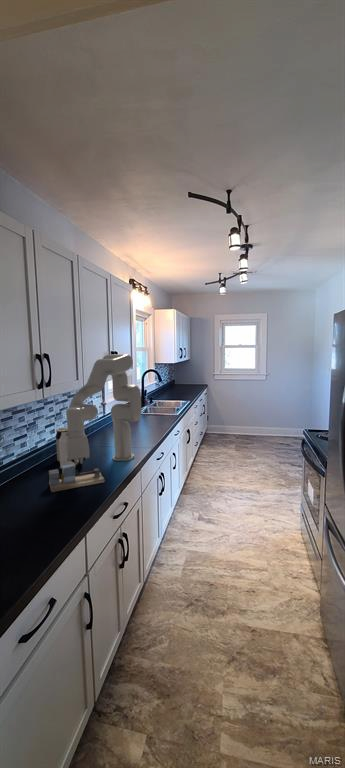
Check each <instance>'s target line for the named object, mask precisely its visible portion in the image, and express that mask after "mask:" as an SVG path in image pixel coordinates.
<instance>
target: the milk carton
mask: <svg viewBox="0 0 345 768" xmlns="http://www.w3.org/2000/svg"><path fill="white" fill-rule="evenodd" d="M65 433H66V432H61V437H60V439H59V454H60V461H59V464H60V469H62V465H66V464H72V463H73V462H70V461H67V460H66V459H67V455H66V440H67V437H68V436H65ZM77 462H78V463H79V458H78V459H77ZM73 465H74V467H75V463H73Z"/></svg>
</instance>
